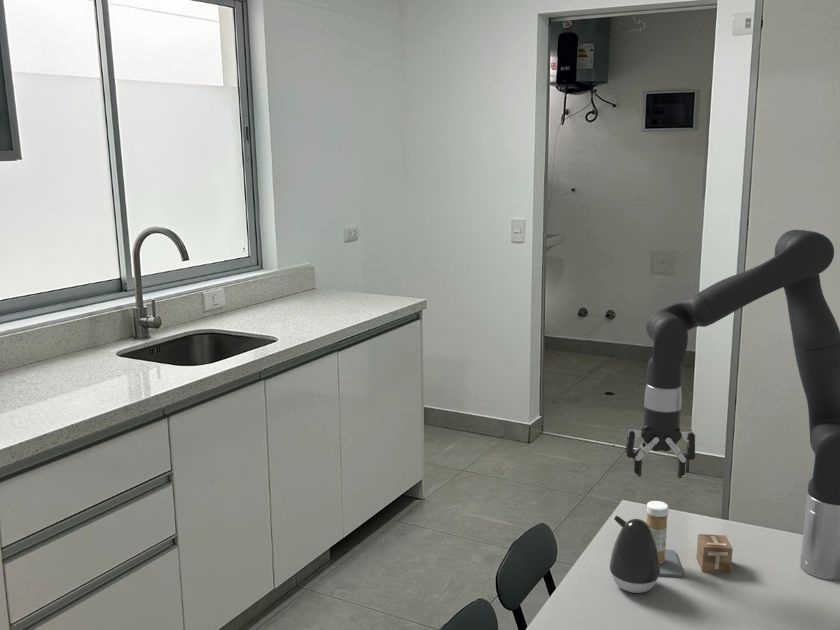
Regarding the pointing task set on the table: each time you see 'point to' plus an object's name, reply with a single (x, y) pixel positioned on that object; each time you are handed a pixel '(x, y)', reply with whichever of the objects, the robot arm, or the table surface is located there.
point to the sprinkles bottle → (658, 525)
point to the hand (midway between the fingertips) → (658, 476)
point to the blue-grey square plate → (671, 565)
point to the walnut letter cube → (714, 553)
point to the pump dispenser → (635, 557)
